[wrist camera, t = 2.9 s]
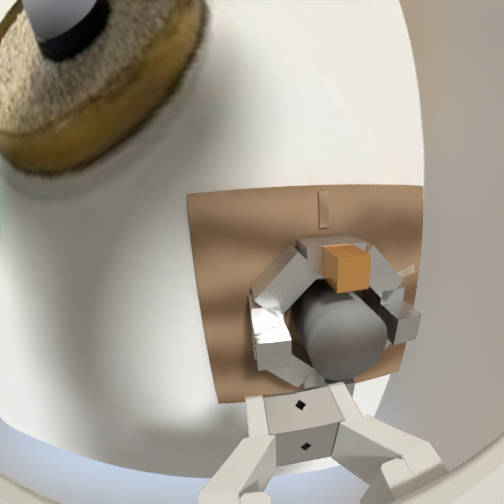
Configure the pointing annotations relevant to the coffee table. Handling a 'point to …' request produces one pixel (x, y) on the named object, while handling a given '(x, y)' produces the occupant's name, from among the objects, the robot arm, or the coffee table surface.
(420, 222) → the base plate
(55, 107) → the coffee table surface
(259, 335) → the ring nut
